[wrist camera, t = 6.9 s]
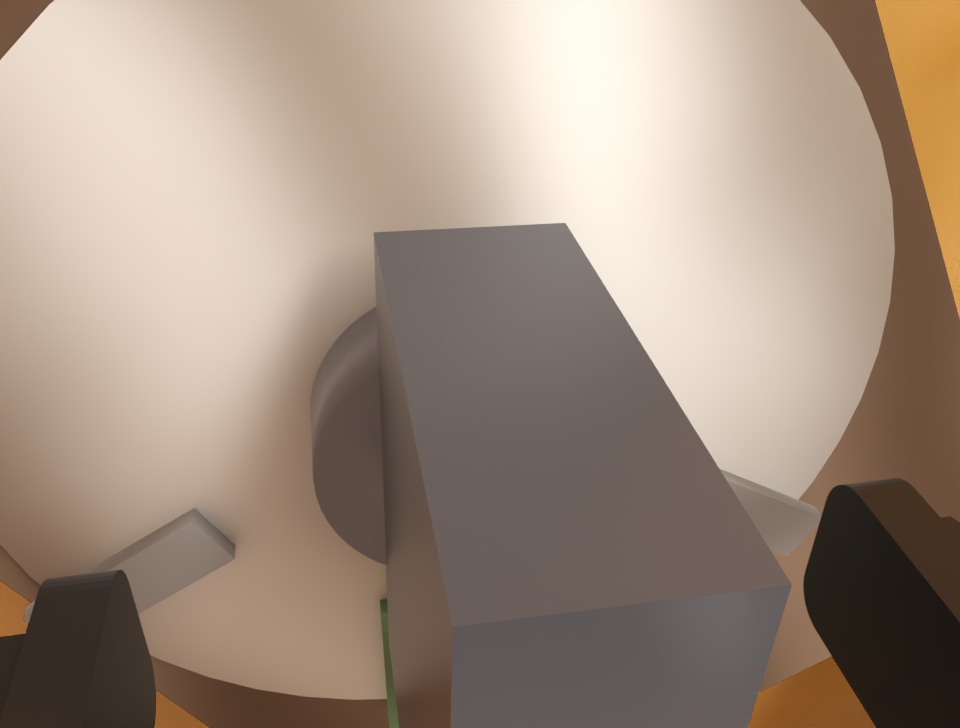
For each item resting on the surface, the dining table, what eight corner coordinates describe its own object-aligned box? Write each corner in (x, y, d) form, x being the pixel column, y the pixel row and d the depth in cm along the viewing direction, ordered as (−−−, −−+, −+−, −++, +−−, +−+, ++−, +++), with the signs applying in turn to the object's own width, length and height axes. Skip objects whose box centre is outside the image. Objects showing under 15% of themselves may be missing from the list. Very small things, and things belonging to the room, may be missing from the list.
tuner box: (453, -803, 10) (582, -1236, 6) (889, 418, 23) (1040, 579, 18) (-466, -76, 13) (-884, 12, 8) (386, 684, 25) (410, 888, 20)
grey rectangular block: (290, 190, 11) (299, 645, 5) (606, 178, 12) (919, 569, 6) (337, 716, 16) (367, 1212, 11) (549, 686, 17) (682, 1138, 12)
